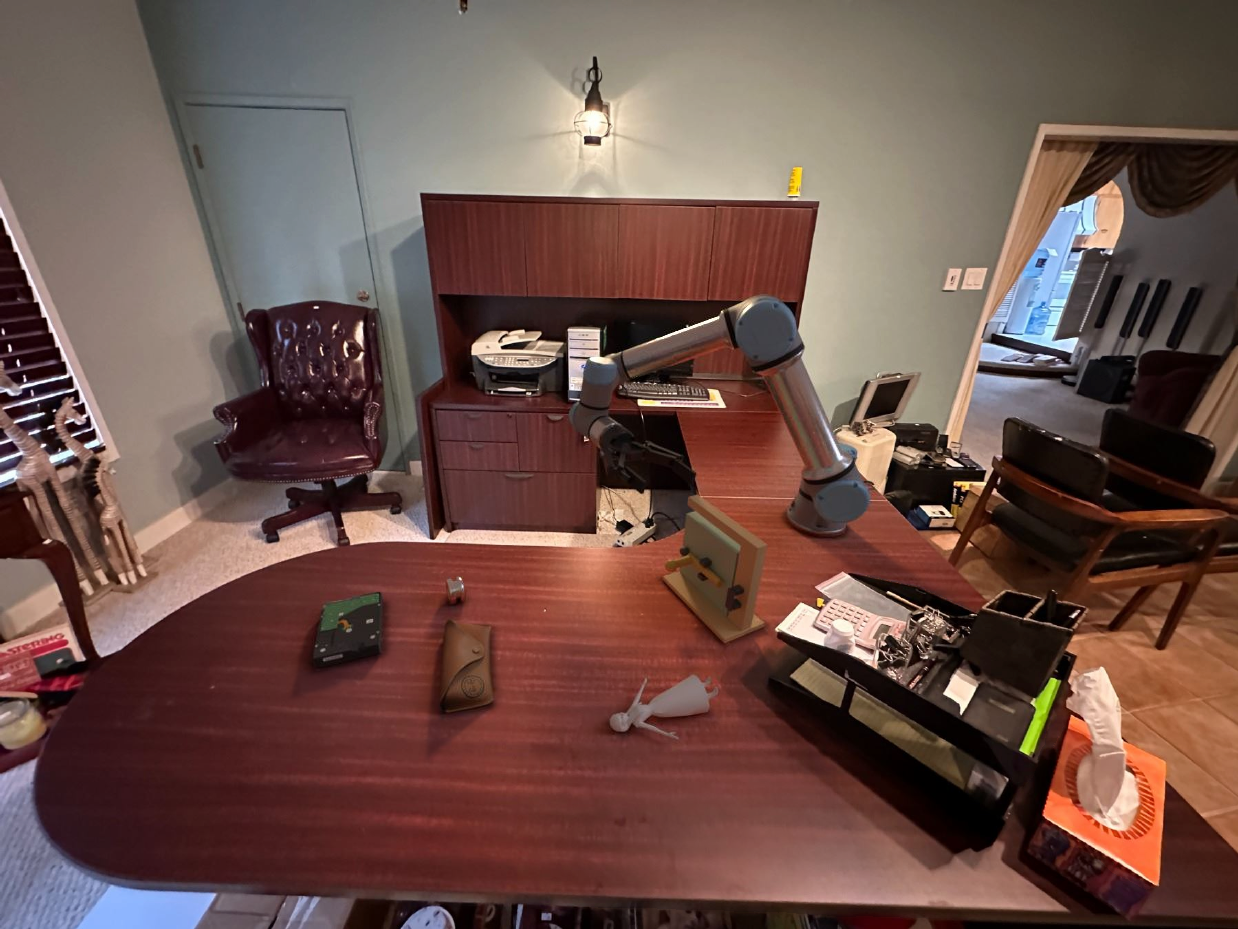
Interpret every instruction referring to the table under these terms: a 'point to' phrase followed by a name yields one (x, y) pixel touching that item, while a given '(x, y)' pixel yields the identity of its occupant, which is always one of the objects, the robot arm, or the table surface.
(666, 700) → the woman figurine
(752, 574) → the door
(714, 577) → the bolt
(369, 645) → the disk drive
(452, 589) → the grooved metal pulley
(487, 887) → the table surface
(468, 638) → the sunglasses case
